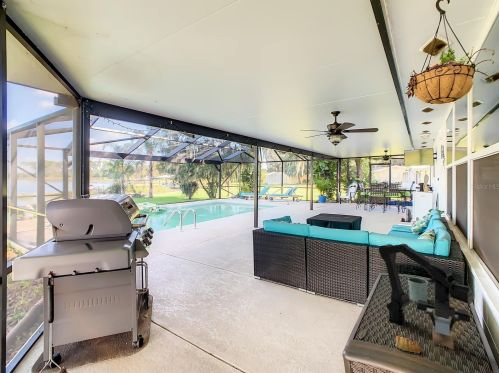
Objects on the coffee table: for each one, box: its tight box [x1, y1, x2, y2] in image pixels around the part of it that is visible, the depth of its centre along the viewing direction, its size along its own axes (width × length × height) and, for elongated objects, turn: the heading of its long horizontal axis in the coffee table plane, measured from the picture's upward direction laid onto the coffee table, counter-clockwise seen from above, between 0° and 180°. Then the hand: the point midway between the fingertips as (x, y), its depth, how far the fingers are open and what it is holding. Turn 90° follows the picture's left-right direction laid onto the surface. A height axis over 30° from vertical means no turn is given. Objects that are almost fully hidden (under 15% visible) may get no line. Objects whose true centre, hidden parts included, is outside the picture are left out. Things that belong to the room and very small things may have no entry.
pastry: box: [395, 335, 422, 354], centre depth 107 cm, size 9×7×4 cm
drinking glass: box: [407, 277, 429, 303], centre depth 151 cm, size 10×10×12 cm
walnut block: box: [431, 328, 455, 350], centre depth 111 cm, size 7×7×4 cm
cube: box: [434, 315, 451, 336], centre depth 111 cm, size 5×5×5 cm
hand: (442, 328), depth 111 cm, fingers closed on cube, 5 cm apart
